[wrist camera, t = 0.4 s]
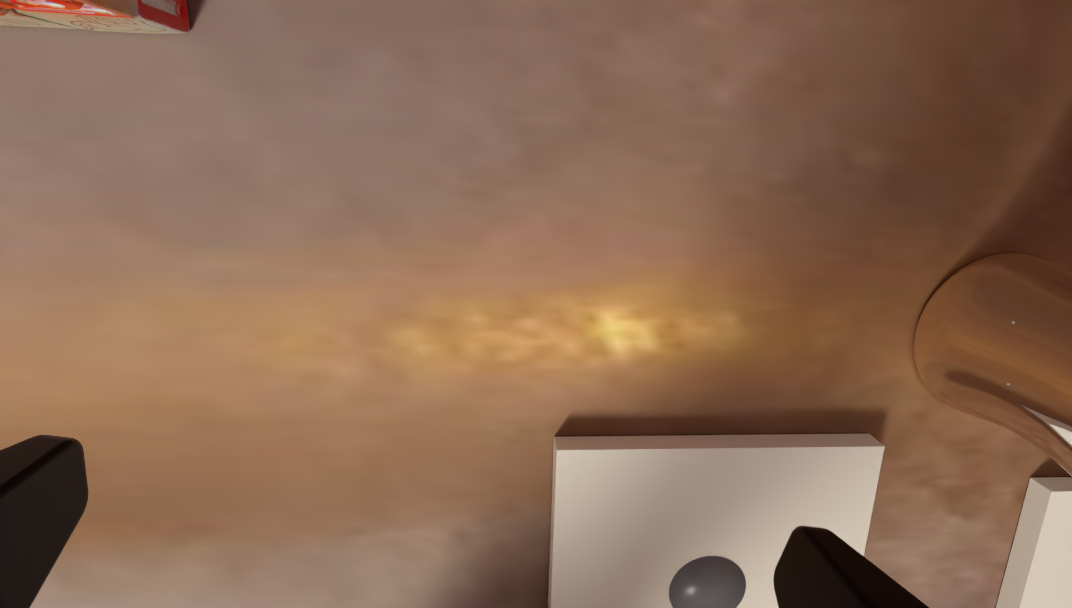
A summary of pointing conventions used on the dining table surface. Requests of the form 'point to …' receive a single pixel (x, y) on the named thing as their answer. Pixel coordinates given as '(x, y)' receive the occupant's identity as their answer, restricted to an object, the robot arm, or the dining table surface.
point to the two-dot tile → (1041, 549)
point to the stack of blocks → (98, 15)
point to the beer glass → (1004, 348)
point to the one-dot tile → (698, 514)
